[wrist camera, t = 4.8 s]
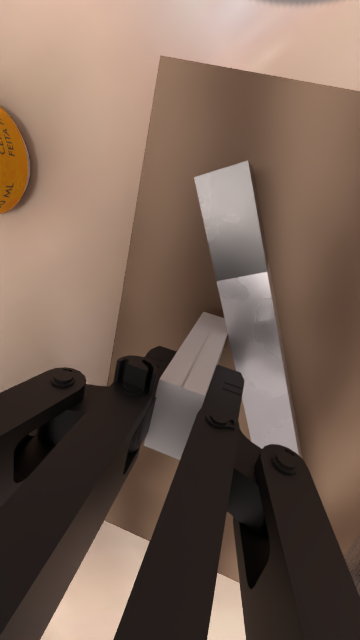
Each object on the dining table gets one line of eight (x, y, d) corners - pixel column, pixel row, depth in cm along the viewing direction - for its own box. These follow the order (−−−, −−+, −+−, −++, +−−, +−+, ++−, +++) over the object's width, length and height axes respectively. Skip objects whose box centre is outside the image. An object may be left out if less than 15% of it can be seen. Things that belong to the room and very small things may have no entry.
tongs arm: (320, 566, 20) (327, 623, 18) (287, 563, 21) (289, 616, 18) (253, 168, 14) (248, 160, 11) (209, 182, 14) (193, 177, 12)
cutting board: (96, 496, 27) (86, 512, 25) (170, 69, 15) (160, 55, 14) (365, 617, 23) (371, 643, 22) (749, 177, 11) (814, 173, 10)
